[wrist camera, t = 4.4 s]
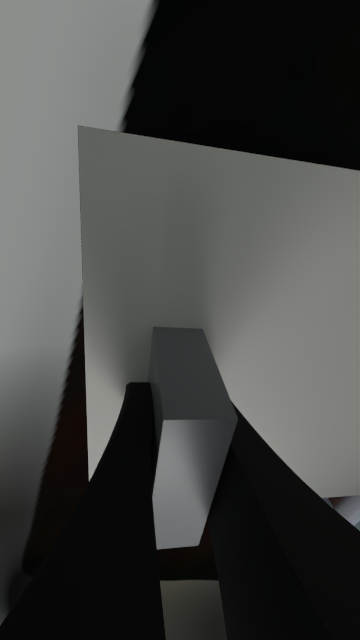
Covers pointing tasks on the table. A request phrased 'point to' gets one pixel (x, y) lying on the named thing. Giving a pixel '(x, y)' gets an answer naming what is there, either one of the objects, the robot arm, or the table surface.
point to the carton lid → (220, 312)
